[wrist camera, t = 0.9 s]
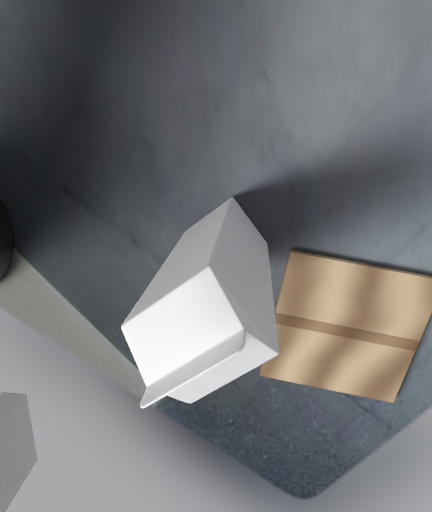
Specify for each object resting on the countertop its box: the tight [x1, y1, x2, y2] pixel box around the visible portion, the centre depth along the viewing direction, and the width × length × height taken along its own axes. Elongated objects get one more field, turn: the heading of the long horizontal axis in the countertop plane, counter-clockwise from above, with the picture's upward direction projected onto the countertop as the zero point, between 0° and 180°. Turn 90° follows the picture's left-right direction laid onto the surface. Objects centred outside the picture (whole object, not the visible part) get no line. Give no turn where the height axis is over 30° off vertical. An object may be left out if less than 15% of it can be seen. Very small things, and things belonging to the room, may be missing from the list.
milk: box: [121, 197, 279, 408], centre depth 26 cm, size 6×6×22 cm
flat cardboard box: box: [260, 249, 432, 403], centre depth 38 cm, size 15×15×1 cm
